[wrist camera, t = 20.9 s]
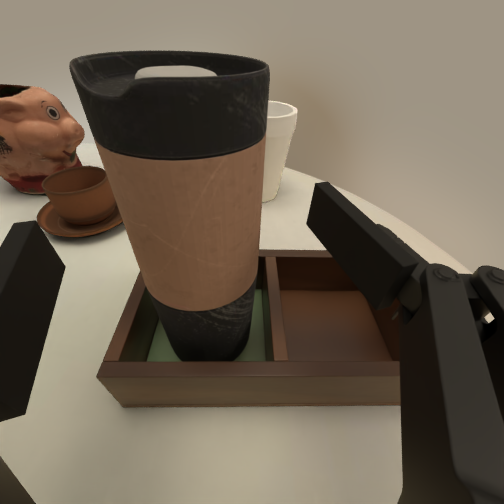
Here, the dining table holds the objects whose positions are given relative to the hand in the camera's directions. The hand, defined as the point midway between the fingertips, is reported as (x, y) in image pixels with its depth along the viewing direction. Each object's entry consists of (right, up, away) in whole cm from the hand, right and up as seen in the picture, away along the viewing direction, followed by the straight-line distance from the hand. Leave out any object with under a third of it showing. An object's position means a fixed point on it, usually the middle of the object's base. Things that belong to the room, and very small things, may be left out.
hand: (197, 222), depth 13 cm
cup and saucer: (-20, +3, +24) cm, 31 cm away
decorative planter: (-33, +10, +31) cm, 46 cm away
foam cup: (+4, +9, +31) cm, 33 cm away
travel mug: (-1, -9, +11) cm, 14 cm away
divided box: (+4, -9, +11) cm, 15 cm away
